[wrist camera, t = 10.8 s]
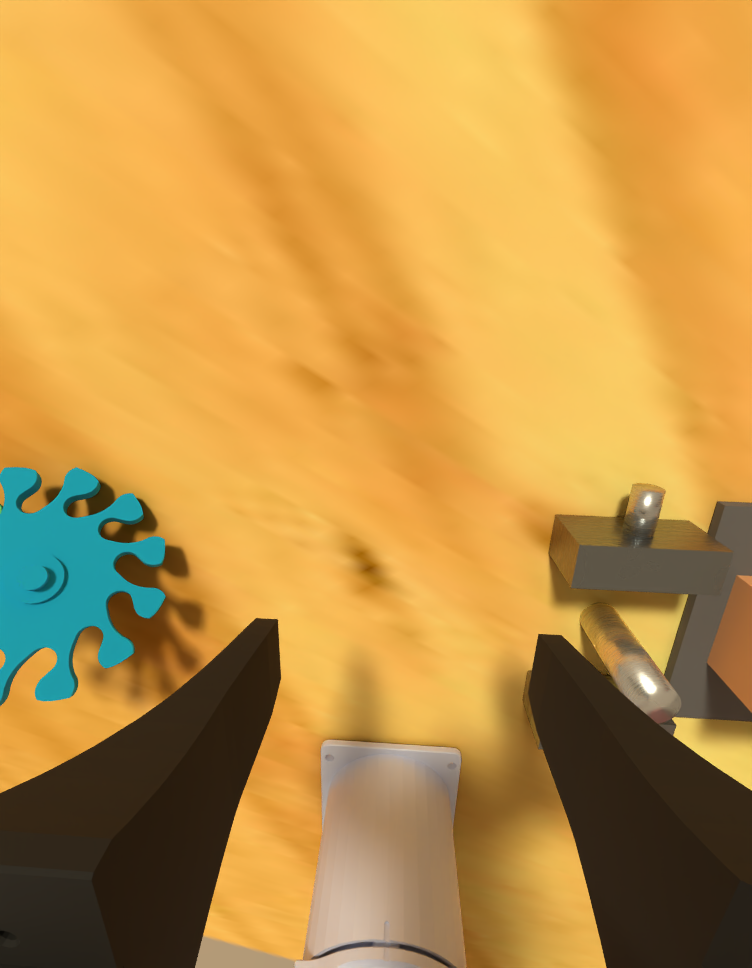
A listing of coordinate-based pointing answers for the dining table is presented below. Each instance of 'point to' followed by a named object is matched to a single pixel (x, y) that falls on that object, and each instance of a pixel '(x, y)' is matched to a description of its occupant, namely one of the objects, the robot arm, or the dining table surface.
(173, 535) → the dining table surface
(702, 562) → the vise
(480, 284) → the dining table surface
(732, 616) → the collar
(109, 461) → the dining table surface
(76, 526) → the gear
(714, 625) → the panel
